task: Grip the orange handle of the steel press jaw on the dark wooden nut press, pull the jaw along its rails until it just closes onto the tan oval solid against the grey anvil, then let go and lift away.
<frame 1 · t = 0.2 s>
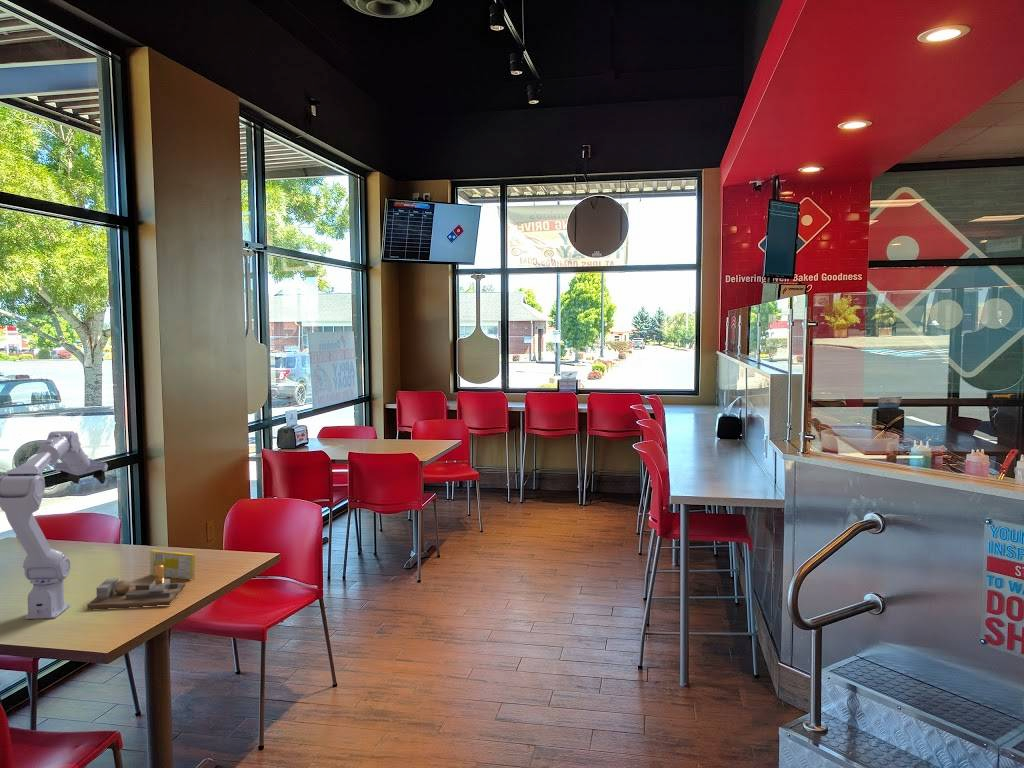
hand: (90, 480, 231), 32 cm above the table, tool tilted 50°, fingers open, 7 cm apart
candy box: (172, 577, 236), on the table
press jaw: (159, 578, 217), point 6 cm above the table, slide at 0.0 cm
tan oval solid: (122, 587, 216), point 3 cm above the table, touching press bench
press bench: (138, 598, 217), on the table
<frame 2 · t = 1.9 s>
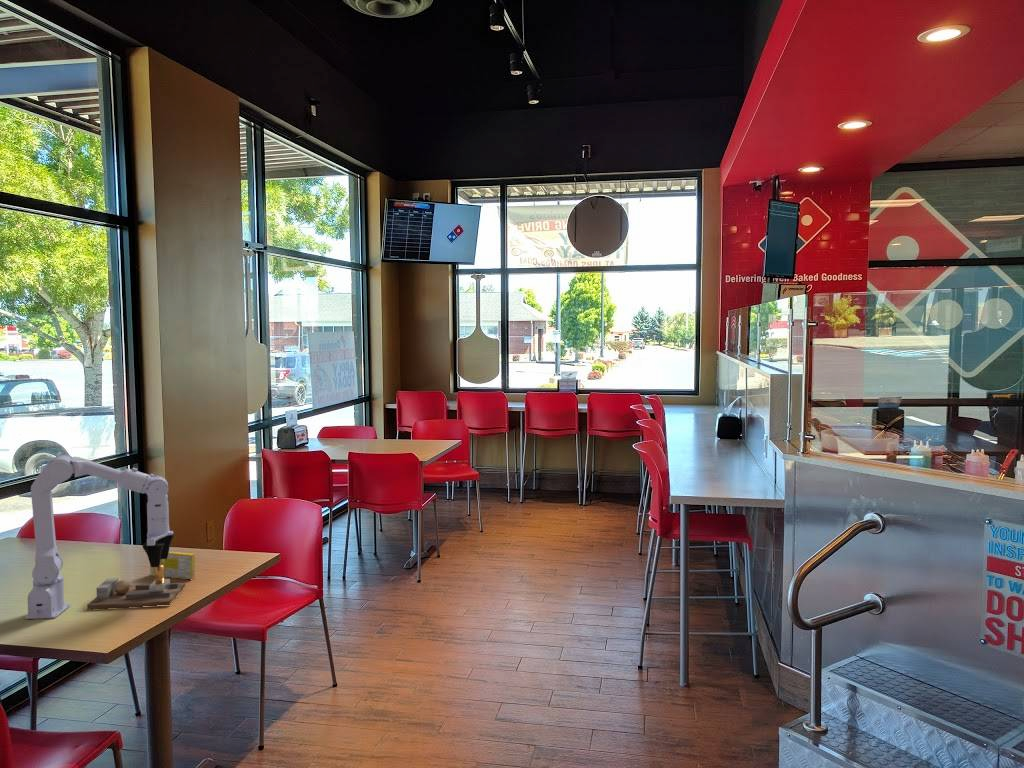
hand: (159, 562, 217), 11 cm above the table, tool pointing down, fingers open, 7 cm apart
nothing on the table moved.
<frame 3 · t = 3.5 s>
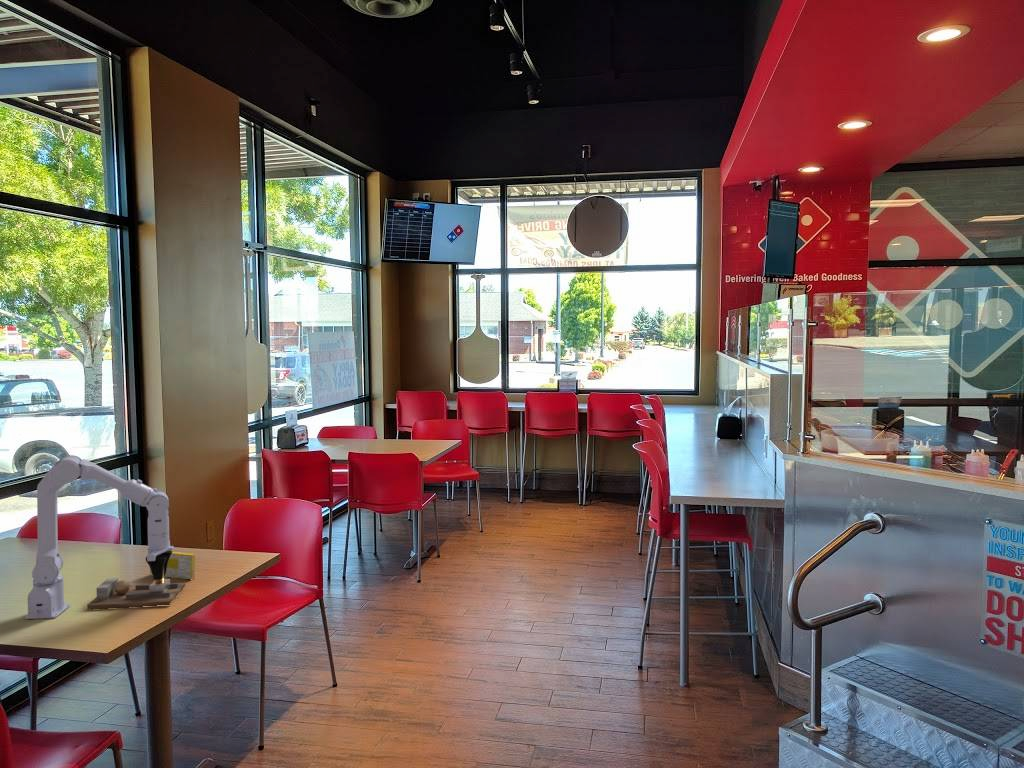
hand: (159, 577, 217), 6 cm above the table, tool pointing down, fingers closed on press jaw, 2 cm apart
press jaw: (159, 578, 217), point 6 cm above the table, slide at 0.0 cm, touching gripper
everything else where it was.
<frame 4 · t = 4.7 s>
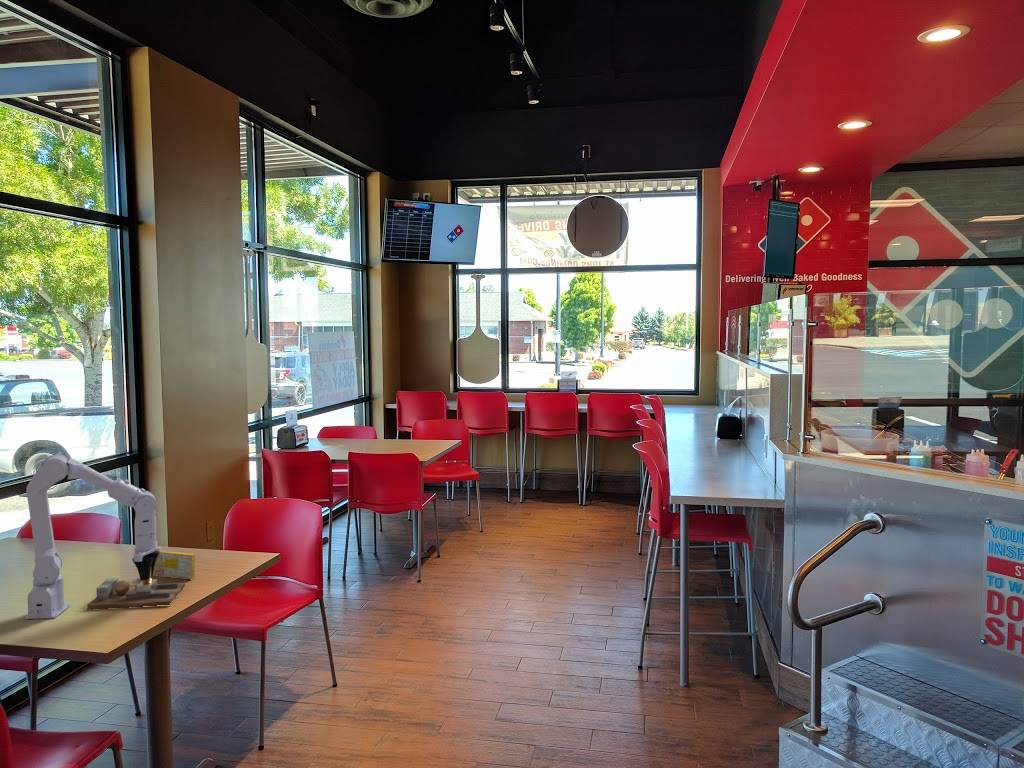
hand: (146, 578, 217), 6 cm above the table, tool pointing down, fingers closed on press jaw, 2 cm apart
press jaw: (146, 579, 217), point 6 cm above the table, slide at 3.6 cm, touching gripper
everything else where it was.
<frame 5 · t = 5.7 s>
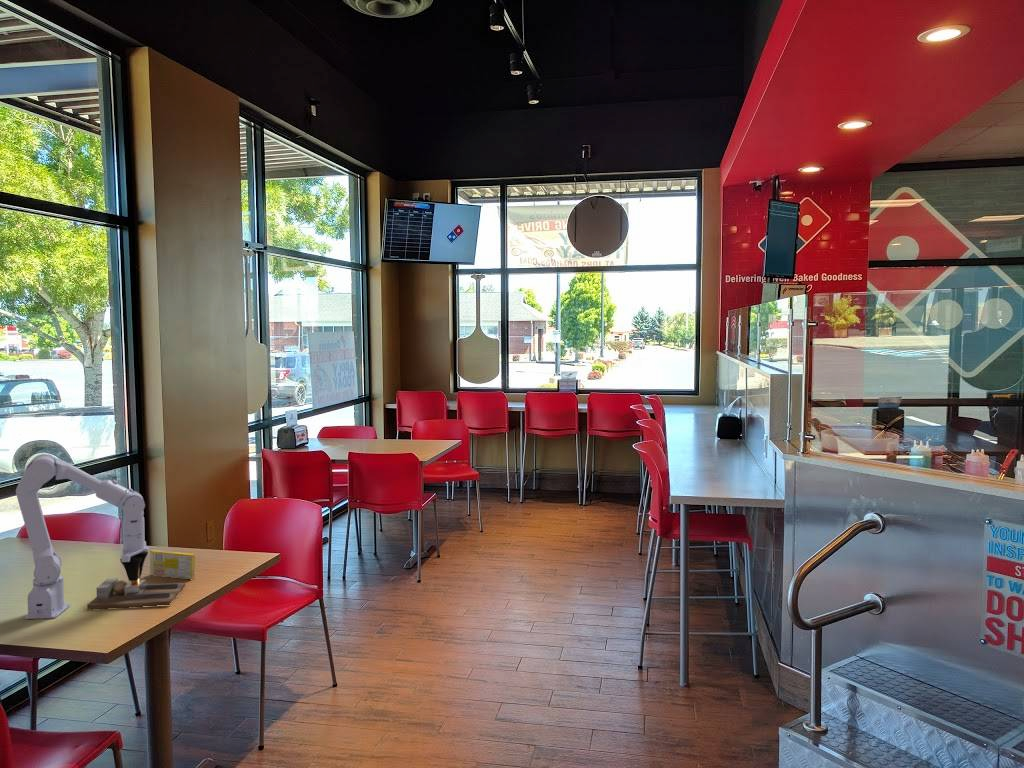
hand: (134, 578, 216), 6 cm above the table, tool pointing down, fingers closed on press jaw, 2 cm apart
press jaw: (135, 579, 216), point 6 cm above the table, slide at 6.8 cm, touching gripper, tan oval solid
tan oval solid: (120, 587, 216), point 3 cm above the table, tilted 9°, touching press bench, press jaw
everything else where it was.
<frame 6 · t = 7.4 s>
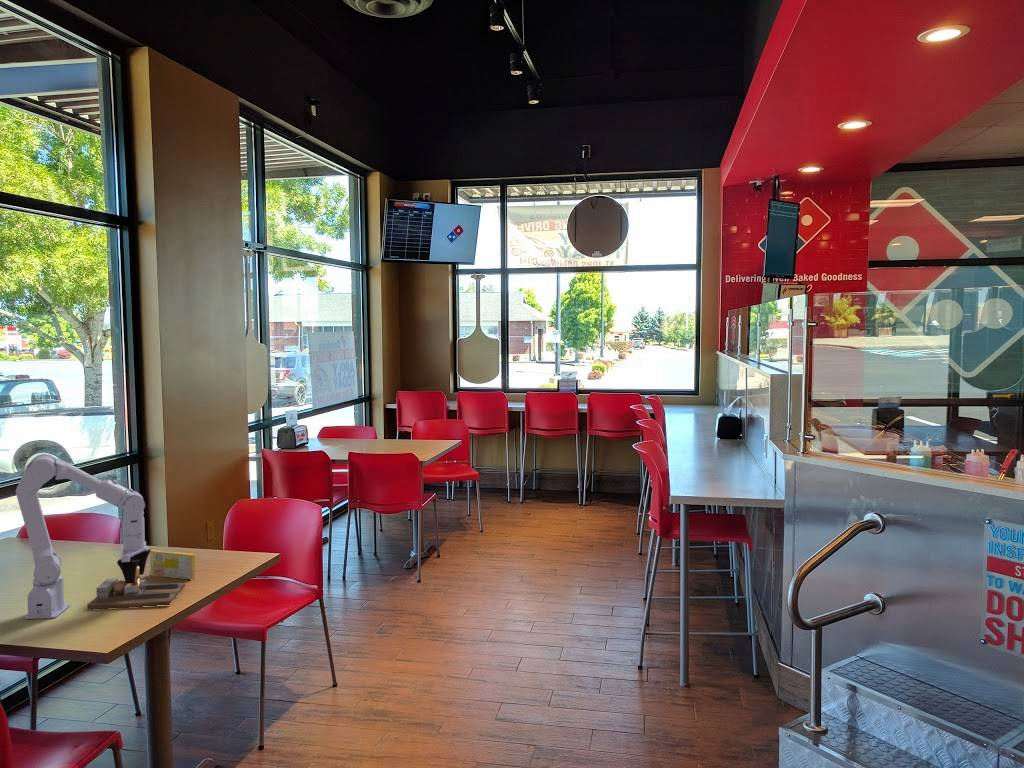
hand: (134, 578, 216), 6 cm above the table, tool pointing down, fingers open, 7 cm apart
press jaw: (135, 579, 216), point 6 cm above the table, slide at 6.8 cm
tan oval solid: (120, 587, 216), point 3 cm above the table, tilted 12°, touching press bench
everything else where it was.
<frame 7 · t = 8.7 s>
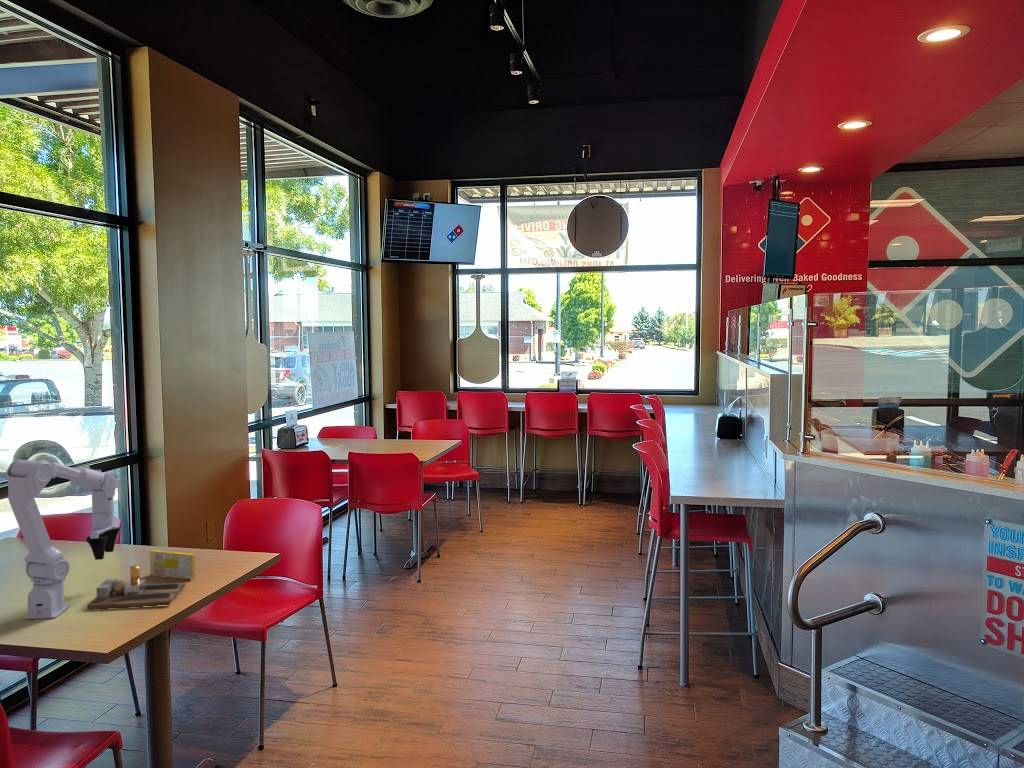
hand: (104, 555, 224), 10 cm above the table, tool pointing down, fingers open, 7 cm apart
nothing on the table moved.
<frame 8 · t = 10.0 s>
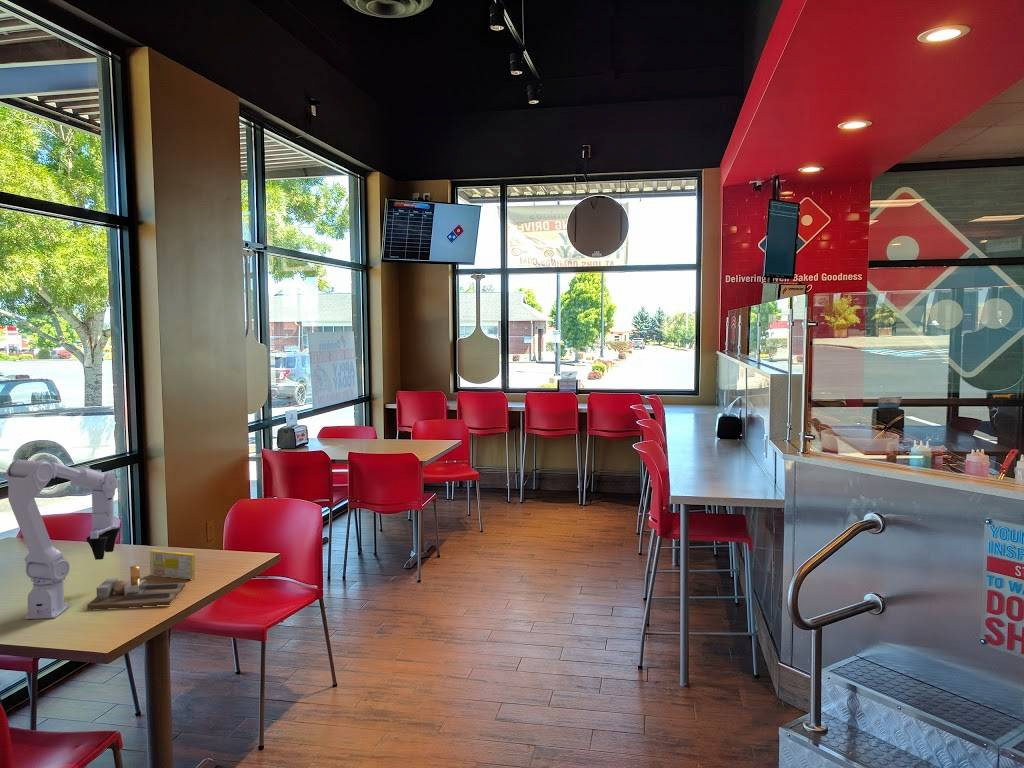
hand: (104, 555, 224), 10 cm above the table, tool pointing down, fingers open, 7 cm apart
nothing on the table moved.
at the end: press jaw slide at 6.8 cm; tan oval solid moved 0.4 cm from its start; the gripper is holding nothing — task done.
